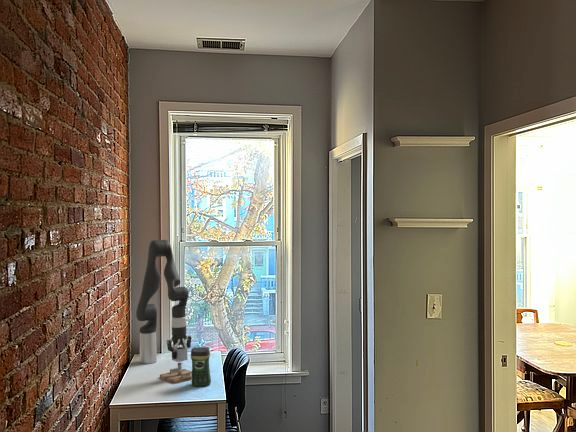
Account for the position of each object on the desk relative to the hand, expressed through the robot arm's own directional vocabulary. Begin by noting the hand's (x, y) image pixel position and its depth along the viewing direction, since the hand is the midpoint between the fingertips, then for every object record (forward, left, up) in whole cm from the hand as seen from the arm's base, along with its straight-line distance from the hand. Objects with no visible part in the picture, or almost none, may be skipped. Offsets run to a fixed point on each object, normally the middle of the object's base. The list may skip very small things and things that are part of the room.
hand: (179, 357), depth 295 cm
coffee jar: (+18, +1, -11) cm, 21 cm away
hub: (0, 0, -1) cm, 1 cm away
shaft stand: (0, 0, -10) cm, 10 cm away
